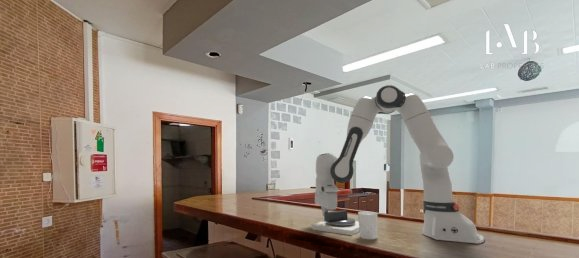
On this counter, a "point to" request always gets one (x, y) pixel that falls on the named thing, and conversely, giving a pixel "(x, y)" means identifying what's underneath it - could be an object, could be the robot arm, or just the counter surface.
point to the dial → (338, 218)
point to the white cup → (368, 224)
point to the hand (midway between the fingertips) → (325, 216)
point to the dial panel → (337, 228)
